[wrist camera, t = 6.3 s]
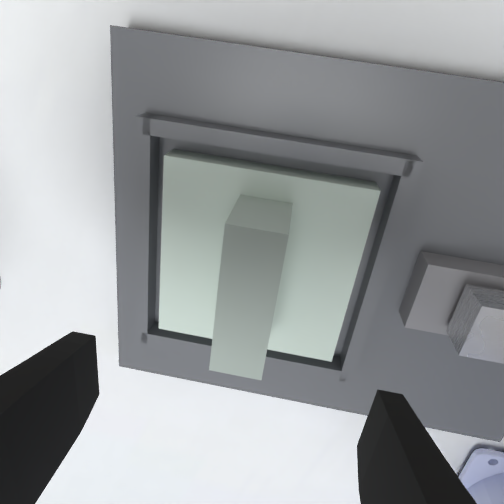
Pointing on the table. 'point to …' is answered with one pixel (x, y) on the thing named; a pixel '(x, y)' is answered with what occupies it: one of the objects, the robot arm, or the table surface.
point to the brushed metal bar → (479, 324)
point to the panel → (334, 163)
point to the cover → (259, 256)
